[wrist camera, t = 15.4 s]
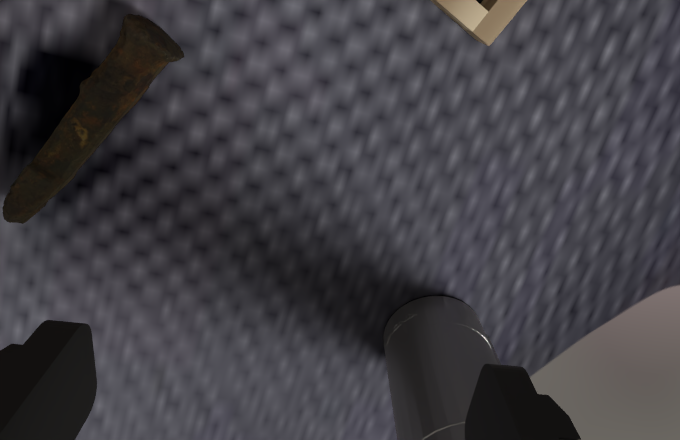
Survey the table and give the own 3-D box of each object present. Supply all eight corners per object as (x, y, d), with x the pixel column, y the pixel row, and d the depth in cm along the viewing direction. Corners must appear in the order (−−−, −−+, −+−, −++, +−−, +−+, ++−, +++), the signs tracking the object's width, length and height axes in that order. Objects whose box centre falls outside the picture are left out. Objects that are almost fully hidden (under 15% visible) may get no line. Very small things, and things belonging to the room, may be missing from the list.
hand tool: (145, 6, 35) (120, 11, 31) (191, 50, 36) (172, 61, 32) (0, 183, 40) (-39, 207, 36) (44, 215, 42) (11, 243, 37)
